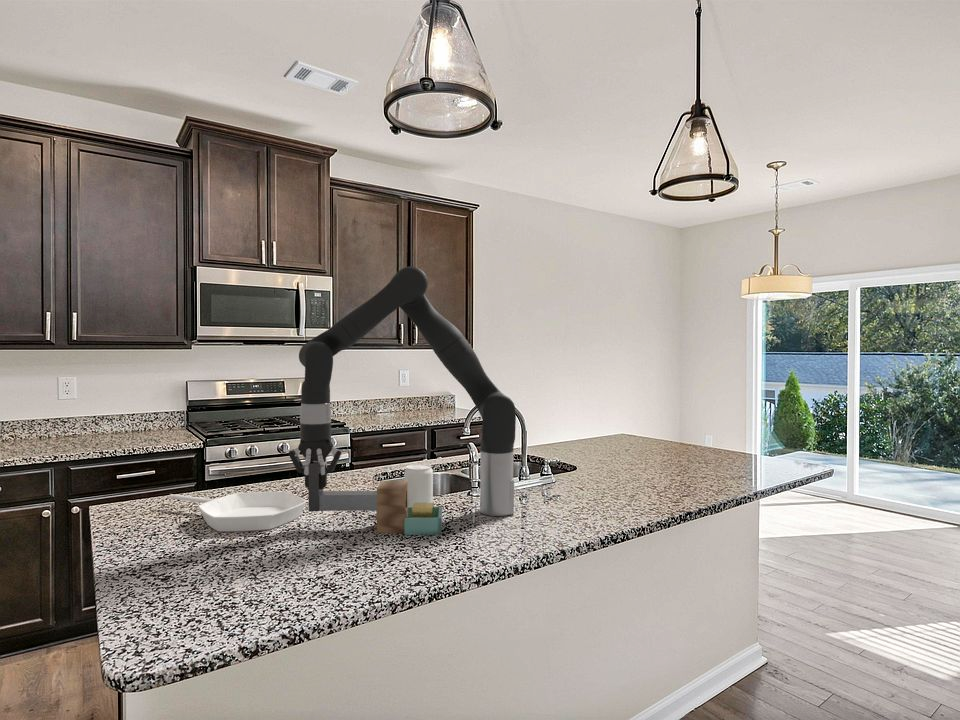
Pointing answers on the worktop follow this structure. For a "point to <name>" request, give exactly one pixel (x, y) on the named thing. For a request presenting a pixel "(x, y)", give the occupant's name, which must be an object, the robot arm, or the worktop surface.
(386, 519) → the block
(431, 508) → the block
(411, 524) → the tray
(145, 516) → the worktop surface
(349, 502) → the grey l-shaped block
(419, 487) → the beverage can
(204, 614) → the worktop surface
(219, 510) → the pan
